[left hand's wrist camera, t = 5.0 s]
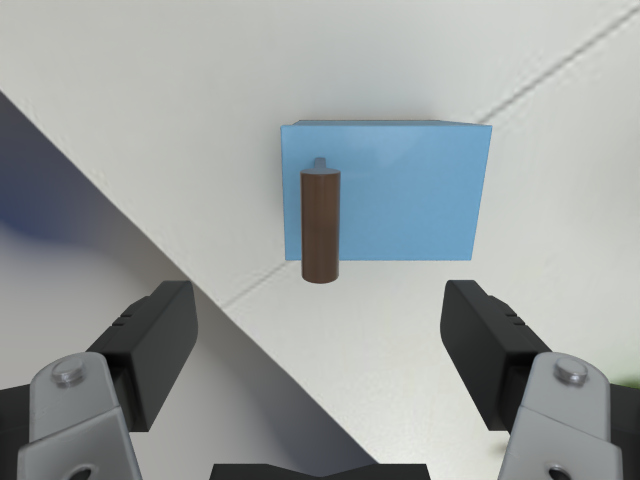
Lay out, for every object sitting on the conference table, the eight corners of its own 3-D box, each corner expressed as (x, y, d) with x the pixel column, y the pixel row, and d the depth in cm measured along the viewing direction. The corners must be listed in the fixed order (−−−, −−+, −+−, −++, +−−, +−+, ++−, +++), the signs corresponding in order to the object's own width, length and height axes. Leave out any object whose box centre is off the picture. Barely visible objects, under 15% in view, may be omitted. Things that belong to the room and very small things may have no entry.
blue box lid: (286, 255, 28) (272, 314, 20) (282, 125, 25) (263, 132, 16) (465, 255, 28) (525, 315, 20) (485, 124, 24) (567, 132, 16)
